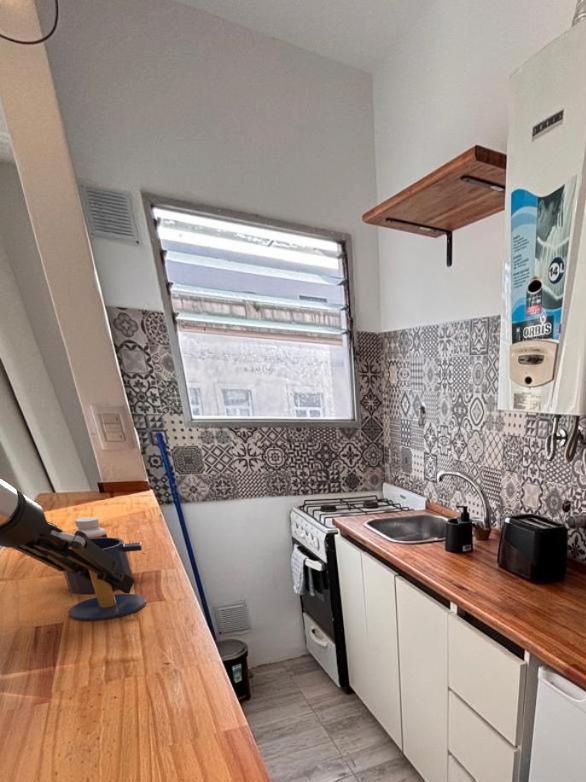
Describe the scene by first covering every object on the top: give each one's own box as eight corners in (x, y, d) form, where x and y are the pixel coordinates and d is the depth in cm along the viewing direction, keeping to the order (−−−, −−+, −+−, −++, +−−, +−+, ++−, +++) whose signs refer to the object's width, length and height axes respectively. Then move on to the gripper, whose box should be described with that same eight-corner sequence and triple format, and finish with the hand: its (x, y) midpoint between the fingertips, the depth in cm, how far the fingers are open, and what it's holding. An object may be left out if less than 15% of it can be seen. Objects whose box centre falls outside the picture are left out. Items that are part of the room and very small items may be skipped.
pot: (57, 584, 99) (42, 541, 96) (151, 574, 106) (140, 534, 103) (48, 602, 91) (31, 556, 88) (150, 590, 98) (138, 546, 95)
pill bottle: (100, 568, 109) (86, 522, 104) (78, 566, 109) (63, 521, 105) (120, 561, 113) (108, 517, 109) (98, 559, 114) (85, 515, 110)
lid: (75, 605, 91) (59, 557, 87) (147, 596, 96) (135, 550, 92) (65, 628, 82) (47, 577, 78) (146, 617, 87) (132, 568, 83)
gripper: (-70, 530, 68) (74, 602, 90) (35, 537, 67) (155, 608, 89) (-45, 483, 71) (89, 564, 93) (57, 489, 69) (168, 569, 91)
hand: (121, 585), depth 91 cm, fingers closed on lid, 2 cm apart
